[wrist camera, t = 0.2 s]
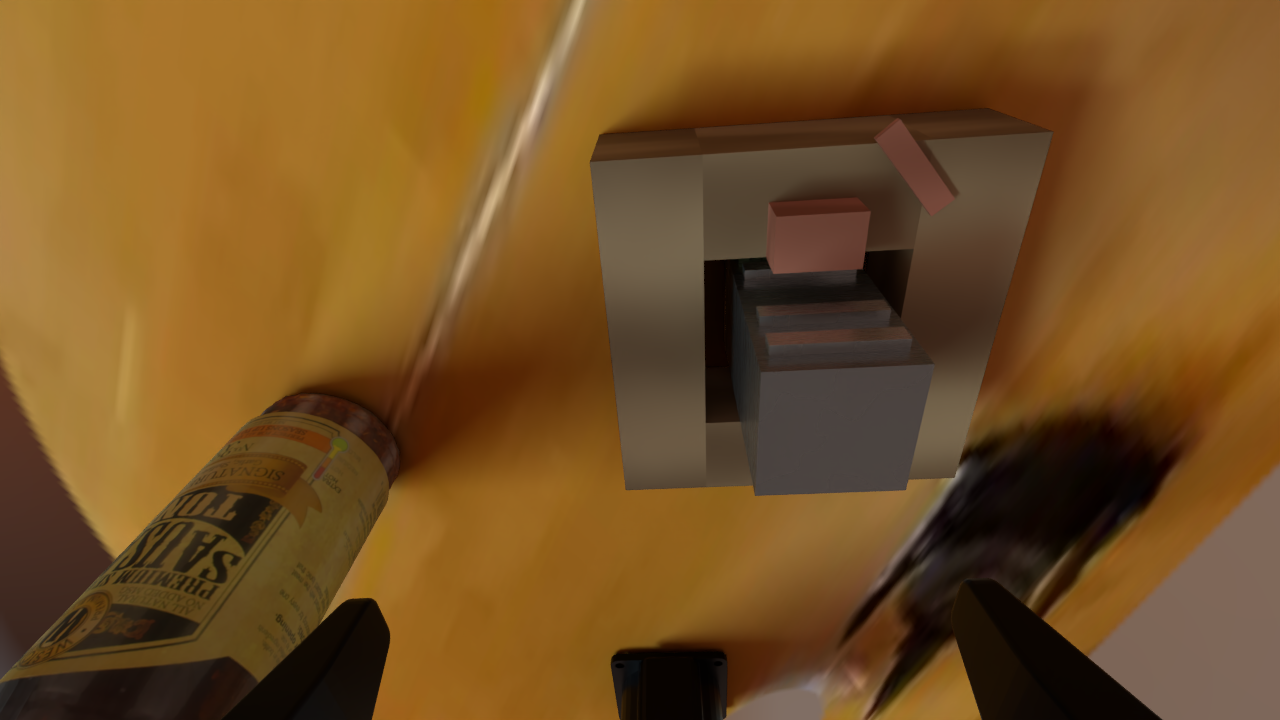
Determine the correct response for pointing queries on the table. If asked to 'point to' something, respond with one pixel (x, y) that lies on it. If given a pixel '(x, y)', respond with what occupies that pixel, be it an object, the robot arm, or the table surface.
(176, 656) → the sauce bottle
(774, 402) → the column
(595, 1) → the table surface
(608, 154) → the stand base
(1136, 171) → the table surface
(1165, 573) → the table surface
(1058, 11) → the table surface
